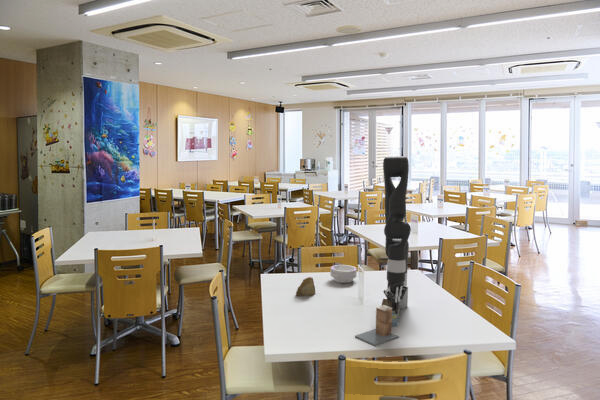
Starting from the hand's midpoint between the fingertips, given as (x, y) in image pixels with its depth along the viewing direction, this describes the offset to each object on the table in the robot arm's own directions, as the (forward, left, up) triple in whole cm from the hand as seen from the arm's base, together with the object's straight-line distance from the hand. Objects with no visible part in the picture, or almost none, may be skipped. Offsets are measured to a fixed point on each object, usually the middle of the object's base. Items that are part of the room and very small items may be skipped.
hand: (394, 310), depth 190 cm
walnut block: (+7, 0, -9) cm, 11 cm away
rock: (-1, -61, -9) cm, 62 cm away
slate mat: (+11, 0, -9) cm, 14 cm away
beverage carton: (-10, -11, -10) cm, 18 cm away
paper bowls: (-35, -68, -9) cm, 77 cm away
